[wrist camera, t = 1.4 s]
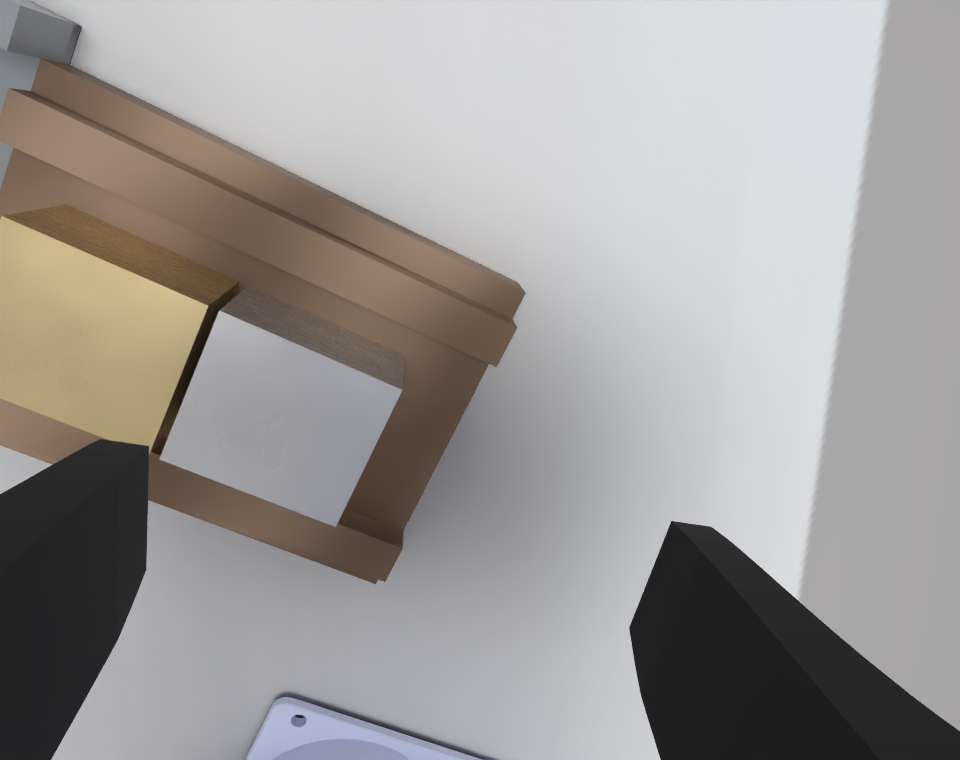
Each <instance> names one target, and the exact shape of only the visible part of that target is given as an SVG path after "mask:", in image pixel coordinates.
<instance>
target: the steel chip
mask: <svg viewBox="0 0 960 760" xmlns="http://www.w3.org/2000/svg"><path fill="white" fill-rule="evenodd" d="M403 369H404V355H403V354H401V353H398V352H396V351H394V350H392V349H389V348H387V347H385V346H383V345H380V344H378V343H376V342H374V341H371V340H369V339H367V338H365V337H363V336H360V335H358V334H356V333H354V332H351V331H349V330H347V329H345V328H342V327H340V326H338V325H336V324H333V323H331V322H329V321H327V320H324V319H322V318H320V317H318V316H315V315H313V314H311V313H309V312H306V311H304V310H302V309H300V308H297V307H295V306H293V305H291V304H288V303H286V302H284V301H282V300H279V299H277V298H275V297H273V296H271V295H268V294H266V293H264V292H262V291H259V290H257V289H255V288H253V287H250V286H247V287H246V288H245V289H244V290H242V291H241V292H240V293H239V294H238V295H237V296H236V297H234V298H233V299H232V300H231V301H230V302H229V303H227V304H226V305H225V306H224V307H223V308H222V309H220V310H219V312H218V315H217V317H216V320H215V322H214V325H213V327H212V330H211V332H210V335H209V337H208V340H207V342H206V345H205V347H204V350H203V352H202V355H201V357H200V360H199V362H198V365H197V367H196V369H195V372H194V374H193V377H192V379H191V382H190V384H189V387H188V389H187V392H186V394H185V397H184V399H183V402H182V404H181V407H180V409H179V412H178V414H177V417H176V419H175V422H174V424H173V426H172V429H171V431H170V434H169V436H168V439H167V441H166V444H165V446H164V449H163V451H162V454H161V456H160V460H162V461H165V462H167V463H170V464H173V465H175V466H178V467H180V468H183V469H186V470H188V471H191V472H193V473H196V474H199V475H201V476H204V477H207V478H209V479H212V480H214V481H217V482H220V483H222V484H225V485H227V486H230V487H233V488H235V489H238V490H240V491H243V492H246V493H248V494H251V495H254V496H256V497H259V498H261V499H264V500H267V501H269V502H272V503H274V504H277V505H280V506H282V507H285V508H287V509H290V510H293V511H295V512H298V513H301V514H303V515H306V516H308V517H311V518H314V519H316V520H319V521H321V522H324V523H327V524H329V525H332V526H334V527H336V526H337V523H338V521H339V519H340V517H341V515H342V513H343V511H344V509H345V507H346V505H347V503H348V501H349V499H350V497H351V495H352V493H353V491H354V489H355V486H356V484H357V482H358V480H359V478H360V476H361V474H362V472H363V470H364V468H365V466H366V464H367V462H368V460H369V458H370V456H371V454H372V452H373V450H374V447H375V445H376V443H377V441H378V439H379V437H380V435H381V433H382V431H383V429H384V427H385V425H386V423H387V421H388V419H389V417H390V415H391V413H392V410H393V408H394V406H395V404H396V402H397V400H398V398H399V396H400V394H401V392H402V389H403Z"/></svg>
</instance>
